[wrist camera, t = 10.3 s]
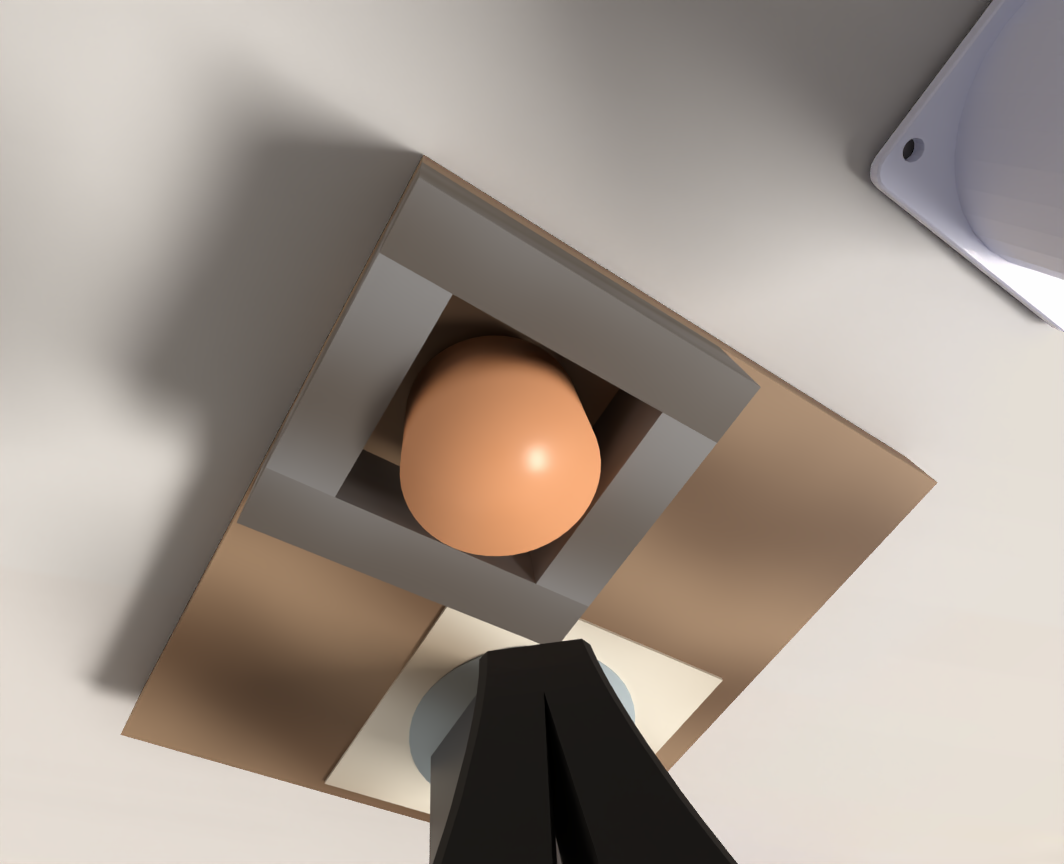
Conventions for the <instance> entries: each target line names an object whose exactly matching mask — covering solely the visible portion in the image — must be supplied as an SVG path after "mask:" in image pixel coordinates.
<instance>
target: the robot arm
mask: <svg viewBox="0 0 1064 864" xmlns="http://www.w3.org/2000/svg"><path fill="white" fill-rule="evenodd" d="M910 139H912V140H913V141H914V150H913V152H912V154H911V156H909V157H908V158H907V159H904V157H903V148H904V146H905V144H906V143H907V142H908V141H909V140H910ZM870 177H871V181H872V183H873V184H874V185H875V186H876V187H877V188H878V189H879V190H880V191H882V192H883V193H884V194H885V195H887V196H888V197H889V198H890V199H892V200H893V201H894V202H895V203H897V204H898V205H899V206H901V207H902V208H903V209H904V210H906V211H907V212H908V213H909V214H911V215H912V216H913V217H914V218H916V219H917V220H918V221H919V222H921V223H922V224H923V225H924V226H926V227H927V228H928V229H929V230H931V231H932V232H933V233H934V234H936V235H937V236H938V237H939V238H941V239H942V240H943V241H945V242H946V243H947V244H948V245H950V246H951V247H952V248H953V249H955V250H956V251H957V252H958V253H960V254H961V255H962V256H963V257H965V258H966V259H967V260H968V261H970V262H971V263H972V264H973V265H975V266H976V267H977V268H978V269H980V270H981V271H982V272H984V273H985V274H986V275H987V276H989V277H990V278H991V279H992V280H994V281H995V282H996V283H997V284H999V285H1000V286H1001V287H1002V288H1004V289H1005V290H1006V291H1007V292H1009V293H1010V294H1011V295H1012V296H1014V297H1015V298H1016V299H1017V300H1019V301H1020V302H1021V303H1022V304H1024V305H1025V306H1026V307H1028V308H1029V309H1030V310H1031V311H1033V312H1034V313H1035V314H1036V315H1038V316H1039V317H1040V318H1041V319H1043V320H1044V321H1045V322H1046V323H1048V324H1049V325H1050V326H1051V327H1054V328H1056V329H1058V330H1061V331H1063V332H1064V0H993V1H992V2H991V4H990V5H989V6H988V8H987V9H986V10H985V12H984V13H983V14H982V16H981V17H980V18H979V20H978V21H977V22H976V24H975V25H974V26H973V28H972V29H971V30H970V32H969V33H968V34H967V36H966V37H965V38H964V40H963V41H962V42H961V44H960V45H959V46H958V47H957V49H956V50H955V51H954V53H953V54H952V55H951V57H950V58H949V59H948V61H947V62H946V63H945V65H944V66H943V67H942V69H941V70H940V71H939V73H938V74H937V75H936V77H935V78H934V79H933V81H932V82H931V83H930V85H929V86H928V87H927V89H926V90H925V91H924V93H923V94H922V95H921V97H920V98H919V99H918V101H917V102H916V103H915V105H914V106H913V107H912V109H911V110H910V111H909V113H908V114H907V115H906V117H905V118H904V119H903V121H902V122H901V123H900V125H899V126H898V127H897V129H896V130H895V131H894V133H893V134H892V135H891V137H890V138H889V139H888V141H887V142H886V143H885V145H884V146H883V147H882V149H881V150H880V151H879V153H878V154H877V155H876V157H875V159H874V161H873V162H872V164H871V169H870ZM556 841H557V845H558V849H559V854H560V858H561V862H562V864H737V862H736V861H735V860H734V859H733V857H732V856H731V855H730V854H729V852H728V851H727V850H726V849H725V847H724V846H723V845H722V844H721V842H720V841H719V840H718V838H717V837H716V836H715V835H714V833H713V832H712V831H711V830H710V828H709V827H708V826H707V825H706V823H705V822H704V821H703V819H702V818H701V817H700V816H699V814H698V813H697V812H696V810H695V809H694V808H693V806H692V805H691V804H690V802H689V801H688V800H687V798H686V797H685V796H684V794H683V793H682V792H681V790H680V789H679V787H678V786H677V785H676V783H675V782H674V780H673V779H672V777H671V776H670V775H669V773H668V772H667V770H666V769H665V767H664V766H663V765H662V763H661V762H660V760H659V759H658V758H657V756H656V755H655V753H654V752H653V750H652V749H651V748H650V746H649V745H648V743H647V742H646V740H645V739H644V737H643V736H642V734H641V733H640V731H639V730H638V728H637V727H636V725H635V723H634V722H633V720H632V719H631V717H630V715H629V714H628V712H627V711H626V709H625V707H624V706H623V704H622V703H621V701H620V699H619V698H618V696H617V694H616V693H615V691H614V689H613V687H612V686H611V684H610V682H609V680H608V679H607V677H606V675H605V673H604V671H603V669H602V668H601V666H600V664H599V662H598V660H597V658H596V656H595V654H594V652H593V649H592V647H591V645H590V644H589V643H587V642H586V641H585V640H583V639H575V640H567V641H560V642H552V643H545V644H537V645H530V646H522V647H515V648H508V649H500V650H493V651H487V652H486V653H485V654H484V655H483V656H482V657H481V658H480V659H479V678H478V687H477V695H476V702H475V708H474V713H473V719H472V724H471V728H470V733H469V738H468V742H467V747H466V751H465V755H464V759H463V763H462V767H461V770H460V774H459V778H458V782H457V785H456V789H455V793H454V797H453V801H452V804H451V808H450V811H449V815H448V818H447V821H446V825H445V828H444V831H443V834H442V837H441V840H440V843H439V846H438V849H437V852H436V855H435V858H434V861H433V864H557V850H556Z"/></svg>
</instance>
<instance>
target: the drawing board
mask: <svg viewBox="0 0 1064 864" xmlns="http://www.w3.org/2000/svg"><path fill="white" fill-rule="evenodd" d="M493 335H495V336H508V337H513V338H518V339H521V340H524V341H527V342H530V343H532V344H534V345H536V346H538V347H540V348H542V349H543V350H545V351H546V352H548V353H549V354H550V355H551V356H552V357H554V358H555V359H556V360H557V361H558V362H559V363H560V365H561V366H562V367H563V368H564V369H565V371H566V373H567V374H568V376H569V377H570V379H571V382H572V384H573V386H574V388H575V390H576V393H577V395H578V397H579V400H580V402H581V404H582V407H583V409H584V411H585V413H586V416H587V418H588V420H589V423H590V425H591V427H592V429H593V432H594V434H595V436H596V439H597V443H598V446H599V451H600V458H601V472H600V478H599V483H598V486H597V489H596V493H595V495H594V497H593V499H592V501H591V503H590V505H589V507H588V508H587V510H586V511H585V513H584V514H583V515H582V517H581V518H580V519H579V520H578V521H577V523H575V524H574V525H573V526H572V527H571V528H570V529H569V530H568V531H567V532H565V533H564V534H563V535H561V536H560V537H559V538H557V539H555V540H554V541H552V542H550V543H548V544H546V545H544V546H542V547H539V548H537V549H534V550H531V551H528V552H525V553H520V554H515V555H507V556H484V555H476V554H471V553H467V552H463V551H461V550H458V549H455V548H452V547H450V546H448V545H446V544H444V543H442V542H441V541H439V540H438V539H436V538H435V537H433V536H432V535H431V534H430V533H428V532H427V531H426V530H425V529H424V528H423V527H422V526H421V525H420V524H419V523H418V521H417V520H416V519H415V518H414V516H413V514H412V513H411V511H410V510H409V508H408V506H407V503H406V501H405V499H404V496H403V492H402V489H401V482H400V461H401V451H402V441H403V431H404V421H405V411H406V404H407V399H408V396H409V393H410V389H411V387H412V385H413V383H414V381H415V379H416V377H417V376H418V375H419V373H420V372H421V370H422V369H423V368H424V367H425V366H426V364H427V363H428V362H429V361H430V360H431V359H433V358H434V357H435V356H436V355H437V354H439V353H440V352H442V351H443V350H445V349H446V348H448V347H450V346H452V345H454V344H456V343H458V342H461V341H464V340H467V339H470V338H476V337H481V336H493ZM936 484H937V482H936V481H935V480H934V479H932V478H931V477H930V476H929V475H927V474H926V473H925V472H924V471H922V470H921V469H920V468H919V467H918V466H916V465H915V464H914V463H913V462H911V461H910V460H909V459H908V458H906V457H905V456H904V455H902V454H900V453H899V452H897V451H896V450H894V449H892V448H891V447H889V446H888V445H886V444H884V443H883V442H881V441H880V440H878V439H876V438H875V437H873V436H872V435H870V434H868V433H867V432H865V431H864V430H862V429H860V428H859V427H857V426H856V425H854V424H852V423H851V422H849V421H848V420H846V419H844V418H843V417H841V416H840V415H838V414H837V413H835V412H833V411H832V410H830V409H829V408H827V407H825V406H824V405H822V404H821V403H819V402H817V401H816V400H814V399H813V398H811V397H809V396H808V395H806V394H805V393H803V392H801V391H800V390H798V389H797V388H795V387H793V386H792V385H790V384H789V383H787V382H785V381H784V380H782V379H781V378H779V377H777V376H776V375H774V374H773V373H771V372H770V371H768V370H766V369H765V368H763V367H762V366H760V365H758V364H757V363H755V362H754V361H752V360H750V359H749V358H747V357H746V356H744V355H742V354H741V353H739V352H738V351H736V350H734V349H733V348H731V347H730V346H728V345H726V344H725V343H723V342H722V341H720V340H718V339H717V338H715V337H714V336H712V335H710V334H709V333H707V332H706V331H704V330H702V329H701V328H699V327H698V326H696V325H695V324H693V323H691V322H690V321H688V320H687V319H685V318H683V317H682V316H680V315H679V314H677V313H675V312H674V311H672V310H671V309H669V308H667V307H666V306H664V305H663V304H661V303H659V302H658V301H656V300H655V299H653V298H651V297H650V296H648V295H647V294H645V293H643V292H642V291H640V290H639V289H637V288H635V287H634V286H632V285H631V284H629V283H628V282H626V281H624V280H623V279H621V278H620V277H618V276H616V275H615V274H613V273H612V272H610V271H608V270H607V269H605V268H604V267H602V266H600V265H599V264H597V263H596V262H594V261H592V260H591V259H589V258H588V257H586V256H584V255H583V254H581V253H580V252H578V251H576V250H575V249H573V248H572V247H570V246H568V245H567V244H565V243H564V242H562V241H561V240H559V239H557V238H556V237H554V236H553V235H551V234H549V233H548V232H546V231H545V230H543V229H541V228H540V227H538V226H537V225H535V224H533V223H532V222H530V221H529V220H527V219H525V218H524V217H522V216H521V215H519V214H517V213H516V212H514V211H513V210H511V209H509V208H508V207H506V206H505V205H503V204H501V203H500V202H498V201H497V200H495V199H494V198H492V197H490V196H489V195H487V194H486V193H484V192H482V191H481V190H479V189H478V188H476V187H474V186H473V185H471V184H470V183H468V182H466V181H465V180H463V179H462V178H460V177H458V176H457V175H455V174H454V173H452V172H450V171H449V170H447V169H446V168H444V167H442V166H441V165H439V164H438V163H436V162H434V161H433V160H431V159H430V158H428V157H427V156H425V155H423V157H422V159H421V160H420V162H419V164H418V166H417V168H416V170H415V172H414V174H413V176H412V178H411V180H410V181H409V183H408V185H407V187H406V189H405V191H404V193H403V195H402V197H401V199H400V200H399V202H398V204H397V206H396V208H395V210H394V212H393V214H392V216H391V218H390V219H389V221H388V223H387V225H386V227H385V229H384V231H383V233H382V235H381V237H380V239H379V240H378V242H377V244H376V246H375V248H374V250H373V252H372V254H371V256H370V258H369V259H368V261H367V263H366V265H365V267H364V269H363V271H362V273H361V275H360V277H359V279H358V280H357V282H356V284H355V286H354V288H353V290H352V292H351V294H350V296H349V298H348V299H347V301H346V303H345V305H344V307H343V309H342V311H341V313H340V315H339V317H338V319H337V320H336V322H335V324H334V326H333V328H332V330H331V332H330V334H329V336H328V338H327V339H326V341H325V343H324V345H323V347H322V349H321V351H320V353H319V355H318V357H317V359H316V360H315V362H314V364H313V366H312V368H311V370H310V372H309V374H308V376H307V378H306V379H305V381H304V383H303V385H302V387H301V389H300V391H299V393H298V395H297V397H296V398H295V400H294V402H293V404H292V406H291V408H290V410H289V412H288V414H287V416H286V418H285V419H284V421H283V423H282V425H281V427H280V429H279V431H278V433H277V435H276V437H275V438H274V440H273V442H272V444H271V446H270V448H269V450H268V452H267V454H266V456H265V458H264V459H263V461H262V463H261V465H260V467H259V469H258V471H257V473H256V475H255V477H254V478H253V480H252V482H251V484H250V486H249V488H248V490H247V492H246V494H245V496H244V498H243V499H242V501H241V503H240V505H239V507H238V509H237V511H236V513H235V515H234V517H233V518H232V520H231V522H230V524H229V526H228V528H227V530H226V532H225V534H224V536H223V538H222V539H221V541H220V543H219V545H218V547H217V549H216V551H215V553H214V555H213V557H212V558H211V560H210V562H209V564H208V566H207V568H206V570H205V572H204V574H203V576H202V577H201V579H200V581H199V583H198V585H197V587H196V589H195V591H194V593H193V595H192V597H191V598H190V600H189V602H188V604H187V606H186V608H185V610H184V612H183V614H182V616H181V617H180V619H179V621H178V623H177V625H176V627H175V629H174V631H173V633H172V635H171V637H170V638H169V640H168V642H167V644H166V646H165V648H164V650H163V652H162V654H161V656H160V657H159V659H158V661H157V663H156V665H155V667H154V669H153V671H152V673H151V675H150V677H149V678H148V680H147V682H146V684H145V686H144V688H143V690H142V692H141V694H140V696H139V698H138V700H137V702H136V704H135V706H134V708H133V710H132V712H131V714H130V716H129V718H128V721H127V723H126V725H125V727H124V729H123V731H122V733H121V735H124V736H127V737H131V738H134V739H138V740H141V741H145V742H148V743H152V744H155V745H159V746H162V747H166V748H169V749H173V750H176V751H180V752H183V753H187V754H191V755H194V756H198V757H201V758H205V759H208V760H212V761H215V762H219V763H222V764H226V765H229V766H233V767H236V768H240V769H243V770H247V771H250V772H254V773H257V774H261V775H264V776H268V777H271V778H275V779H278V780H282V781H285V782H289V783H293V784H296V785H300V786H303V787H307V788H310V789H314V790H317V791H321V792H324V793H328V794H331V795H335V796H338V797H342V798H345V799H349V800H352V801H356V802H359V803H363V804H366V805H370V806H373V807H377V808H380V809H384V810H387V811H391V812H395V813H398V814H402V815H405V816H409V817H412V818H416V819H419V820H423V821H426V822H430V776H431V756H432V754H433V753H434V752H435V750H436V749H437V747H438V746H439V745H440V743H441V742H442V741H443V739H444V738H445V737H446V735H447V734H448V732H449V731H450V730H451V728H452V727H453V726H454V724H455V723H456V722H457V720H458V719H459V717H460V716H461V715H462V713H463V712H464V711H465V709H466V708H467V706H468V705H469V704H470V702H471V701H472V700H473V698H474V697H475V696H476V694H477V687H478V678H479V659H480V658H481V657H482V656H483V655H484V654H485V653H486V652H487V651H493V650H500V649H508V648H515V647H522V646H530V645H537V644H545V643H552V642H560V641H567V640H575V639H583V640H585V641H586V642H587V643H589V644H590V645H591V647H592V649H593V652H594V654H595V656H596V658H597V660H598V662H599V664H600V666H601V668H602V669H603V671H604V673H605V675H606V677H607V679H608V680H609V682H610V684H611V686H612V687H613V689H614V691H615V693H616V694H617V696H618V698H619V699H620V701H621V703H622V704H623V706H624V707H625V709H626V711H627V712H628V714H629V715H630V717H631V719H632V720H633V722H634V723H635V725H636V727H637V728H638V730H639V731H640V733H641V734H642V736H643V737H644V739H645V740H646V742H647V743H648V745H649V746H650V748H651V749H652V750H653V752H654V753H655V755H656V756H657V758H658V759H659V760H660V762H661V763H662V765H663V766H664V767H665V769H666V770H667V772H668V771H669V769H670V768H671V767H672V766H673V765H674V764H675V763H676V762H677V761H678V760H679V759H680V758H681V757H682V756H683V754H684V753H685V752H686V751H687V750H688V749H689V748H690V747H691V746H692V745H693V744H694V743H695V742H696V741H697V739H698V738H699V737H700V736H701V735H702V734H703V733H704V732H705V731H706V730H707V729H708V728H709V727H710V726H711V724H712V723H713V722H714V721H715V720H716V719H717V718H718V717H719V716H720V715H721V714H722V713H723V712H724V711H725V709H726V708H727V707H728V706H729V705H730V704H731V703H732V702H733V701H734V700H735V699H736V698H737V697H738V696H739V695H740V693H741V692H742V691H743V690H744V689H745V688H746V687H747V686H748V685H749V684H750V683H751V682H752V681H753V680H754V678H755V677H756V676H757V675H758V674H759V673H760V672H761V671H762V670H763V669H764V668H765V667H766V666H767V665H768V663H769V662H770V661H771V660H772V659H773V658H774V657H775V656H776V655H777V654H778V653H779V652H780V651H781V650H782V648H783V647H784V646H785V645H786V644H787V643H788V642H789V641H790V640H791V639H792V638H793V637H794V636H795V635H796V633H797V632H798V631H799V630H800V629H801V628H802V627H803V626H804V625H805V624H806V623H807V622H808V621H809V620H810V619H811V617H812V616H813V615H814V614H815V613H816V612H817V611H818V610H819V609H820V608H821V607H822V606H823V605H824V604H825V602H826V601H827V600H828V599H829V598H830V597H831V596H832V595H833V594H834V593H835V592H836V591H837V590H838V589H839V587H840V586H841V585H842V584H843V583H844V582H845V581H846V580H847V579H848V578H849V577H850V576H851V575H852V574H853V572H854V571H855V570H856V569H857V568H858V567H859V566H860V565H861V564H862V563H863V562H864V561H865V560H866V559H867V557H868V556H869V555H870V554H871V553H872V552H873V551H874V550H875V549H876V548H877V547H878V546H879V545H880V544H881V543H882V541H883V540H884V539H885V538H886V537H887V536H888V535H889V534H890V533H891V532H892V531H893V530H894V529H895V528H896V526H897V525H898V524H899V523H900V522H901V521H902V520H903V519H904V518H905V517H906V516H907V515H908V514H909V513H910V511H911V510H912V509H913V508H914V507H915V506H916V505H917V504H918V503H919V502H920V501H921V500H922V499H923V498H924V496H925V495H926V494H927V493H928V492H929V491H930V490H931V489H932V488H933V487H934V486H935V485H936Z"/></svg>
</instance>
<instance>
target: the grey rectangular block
mask: <svg viewBox="0 0 1064 864" xmlns="http://www.w3.org/2000/svg"><path fill="white" fill-rule="evenodd" d="M476 695H477V694H476ZM475 702H476V696H475V697H474V698H473V700H472V701H471V702H470V704H469V705H468V706H467V708H466V709H465V711H464V712H463V713H462V715H461V716H460V717H459V719H458V720H457V722H456V723H455V724H454V726H453V727H452V728H451V730H450V731H449V732H448V734H447V735H446V737H445V738H444V739H443V741H442V742H441V743H440V745H439V746H438V747H437V749H436V750H435V752H434V753H433V754H432V756H431V776H430V861H429V864H433V861H434V858H435V855H436V852H437V849H438V846H439V843H440V840H441V837H442V834H443V831H444V828H445V825H446V821H447V818H448V815H449V811H450V808H451V804H452V801H453V797H454V793H455V789H456V785H457V782H458V778H459V774H460V770H461V767H462V763H463V759H464V755H465V751H466V747H467V742H468V738H469V733H470V728H471V724H472V719H473V713H474V708H475ZM556 850H557V864H562V862H561V858H560V854H559V849H558V845H557V841H556Z"/></svg>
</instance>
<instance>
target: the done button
mask: <svg viewBox="0 0 1064 864" xmlns="http://www.w3.org/2000/svg"><path fill="white" fill-rule="evenodd" d="M600 472H601V458H600V451H599V446H598V443H597V439H596V436H595V434H594V432H593V429H592V427H591V425H590V423H589V420H588V418H587V416H586V413H585V411H584V409H583V407H582V404H581V402H580V400H579V397H578V395H577V393H576V390H575V388H574V386H573V384H572V382H571V379H570V377H569V376H568V374H567V373H566V371H565V369H564V368H563V367H562V366H561V365H560V363H559V362H558V361H557V360H556V359H555V358H554V357H552V356H551V355H550V354H549V353H548V352H546V351H545V350H543V349H542V348H540V347H538V346H536V345H534V344H532V343H530V342H527V341H524V340H521V339H518V338H513V337H508V336H495V335H493V336H481V337H476V338H470V339H467V340H464V341H461V342H458V343H456V344H454V345H452V346H450V347H448V348H446V349H445V350H443V351H442V352H440V353H439V354H437V355H436V356H435V357H434V358H433V359H431V360H430V361H429V362H428V363H427V364H426V366H425V367H424V368H423V369H422V370H421V372H420V373H419V375H418V376H417V377H416V379H415V381H414V383H413V385H412V387H411V389H410V393H409V396H408V399H407V404H406V411H405V421H404V431H403V441H402V451H401V461H400V482H401V489H402V492H403V496H404V499H405V501H406V503H407V506H408V508H409V510H410V511H411V513H412V514H413V516H414V518H415V519H416V520H417V521H418V523H419V524H420V525H421V526H422V527H423V528H424V529H425V530H426V531H427V532H428V533H430V534H431V535H432V536H433V537H435V538H436V539H438V540H439V541H441V542H442V543H444V544H446V545H448V546H450V547H452V548H455V549H458V550H461V551H463V552H467V553H471V554H476V555H484V556H507V555H515V554H520V553H525V552H528V551H531V550H534V549H537V548H539V547H542V546H544V545H546V544H548V543H550V542H552V541H554V540H555V539H557V538H559V537H560V536H561V535H563V534H564V533H565V532H567V531H568V530H569V529H570V528H571V527H572V526H573V525H574V524H575V523H577V521H578V520H579V519H580V518H581V517H582V515H583V514H584V513H585V511H586V510H587V508H588V507H589V505H590V503H591V501H592V499H593V497H594V495H595V493H596V489H597V486H598V483H599V478H600Z"/></svg>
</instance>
